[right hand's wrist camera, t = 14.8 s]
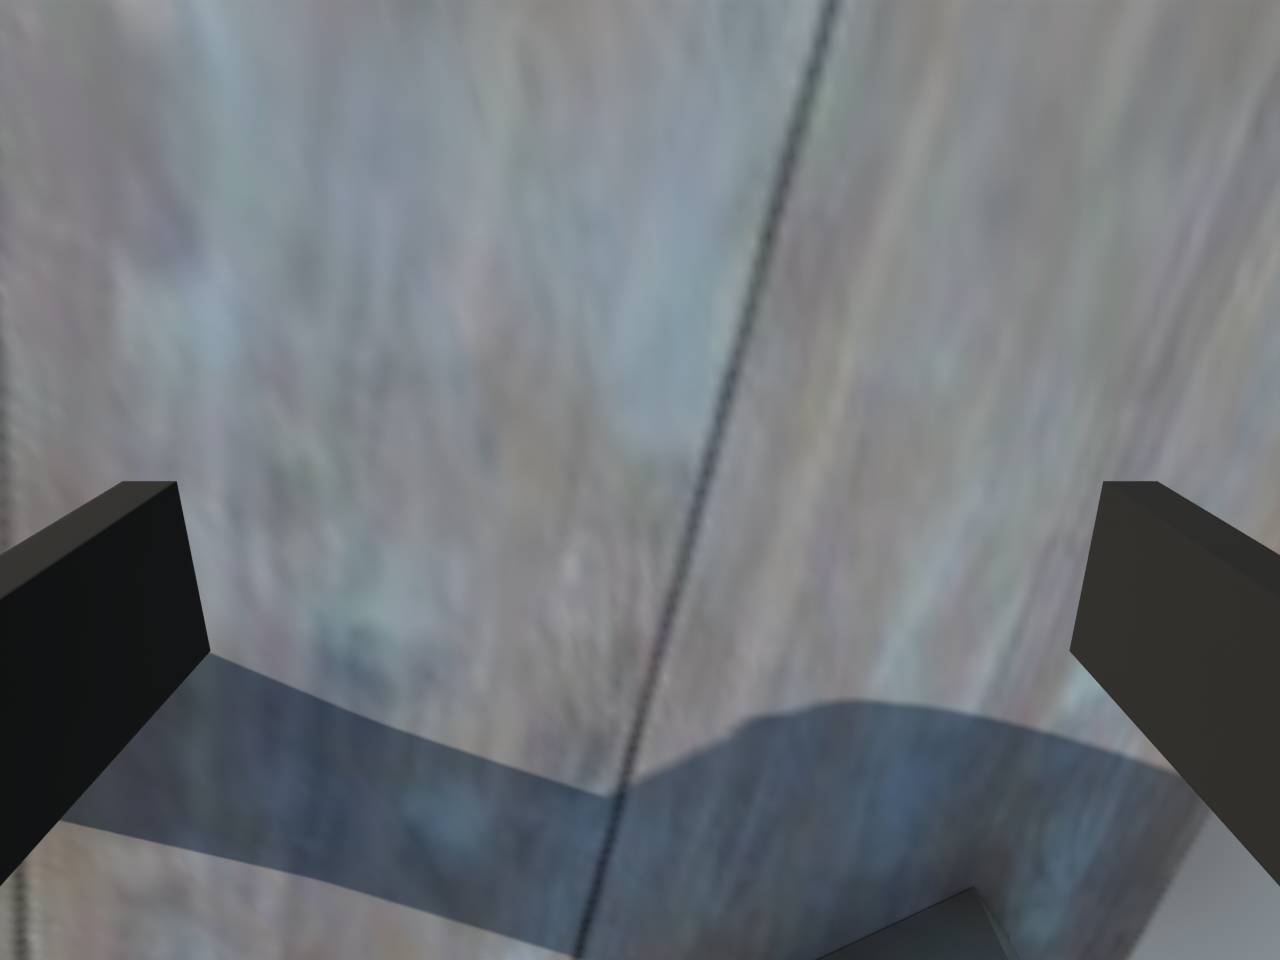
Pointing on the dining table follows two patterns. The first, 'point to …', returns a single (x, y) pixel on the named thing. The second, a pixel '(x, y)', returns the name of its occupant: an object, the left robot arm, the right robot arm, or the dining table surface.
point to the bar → (937, 935)
